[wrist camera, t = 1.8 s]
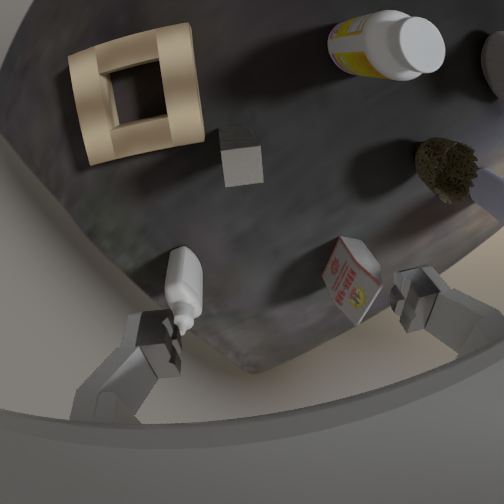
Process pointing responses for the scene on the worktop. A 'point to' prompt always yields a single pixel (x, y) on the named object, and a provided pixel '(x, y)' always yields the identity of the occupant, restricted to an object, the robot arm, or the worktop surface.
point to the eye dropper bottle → (184, 287)
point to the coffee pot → (494, 63)
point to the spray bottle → (489, 192)
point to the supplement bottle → (387, 46)
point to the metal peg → (240, 156)
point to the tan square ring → (103, 103)
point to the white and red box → (352, 278)
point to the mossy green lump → (446, 167)
